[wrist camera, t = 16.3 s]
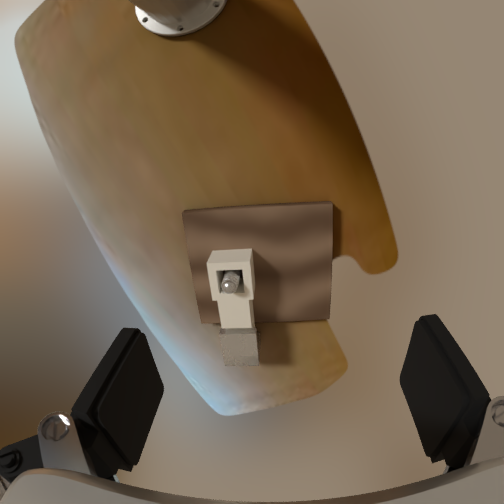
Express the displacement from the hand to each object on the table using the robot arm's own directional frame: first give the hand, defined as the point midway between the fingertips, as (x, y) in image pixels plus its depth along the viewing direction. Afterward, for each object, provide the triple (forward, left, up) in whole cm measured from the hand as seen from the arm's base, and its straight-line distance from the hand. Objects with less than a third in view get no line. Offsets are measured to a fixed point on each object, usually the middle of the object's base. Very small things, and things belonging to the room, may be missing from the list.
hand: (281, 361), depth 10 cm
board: (+10, -2, -30) cm, 32 cm away
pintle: (+10, -6, -29) cm, 31 cm away
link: (+14, -6, -29) cm, 33 cm away
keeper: (+21, -6, -30) cm, 37 cm away
